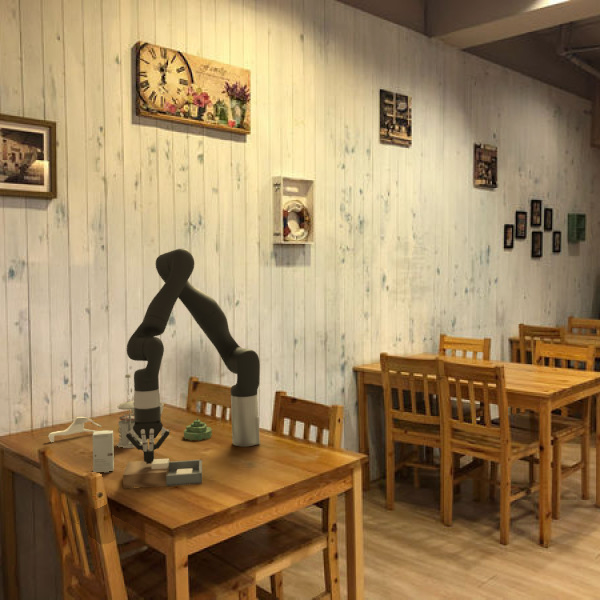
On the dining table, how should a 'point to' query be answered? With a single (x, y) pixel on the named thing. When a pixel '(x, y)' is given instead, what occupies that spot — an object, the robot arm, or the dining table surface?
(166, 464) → the tile
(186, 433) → the decorative artifact
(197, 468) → the tray
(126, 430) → the french press
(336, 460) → the dining table surface
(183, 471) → the tile
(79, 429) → the white clothes hanger
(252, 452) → the dining table surface
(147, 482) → the board
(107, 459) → the skincare box
